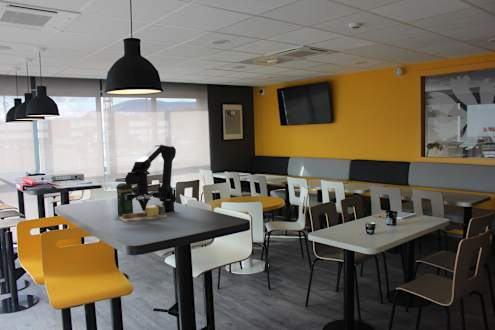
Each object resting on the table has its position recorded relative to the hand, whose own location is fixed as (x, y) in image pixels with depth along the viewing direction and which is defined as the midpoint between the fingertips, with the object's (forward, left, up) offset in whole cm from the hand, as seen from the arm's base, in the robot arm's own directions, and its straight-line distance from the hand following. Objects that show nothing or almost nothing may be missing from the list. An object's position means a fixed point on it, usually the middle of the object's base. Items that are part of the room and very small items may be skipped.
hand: (143, 210), depth 221 cm
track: (+1, 0, -4) cm, 4 cm away
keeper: (-4, 0, -3) cm, 5 cm away
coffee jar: (+6, -19, -4) cm, 20 cm away
